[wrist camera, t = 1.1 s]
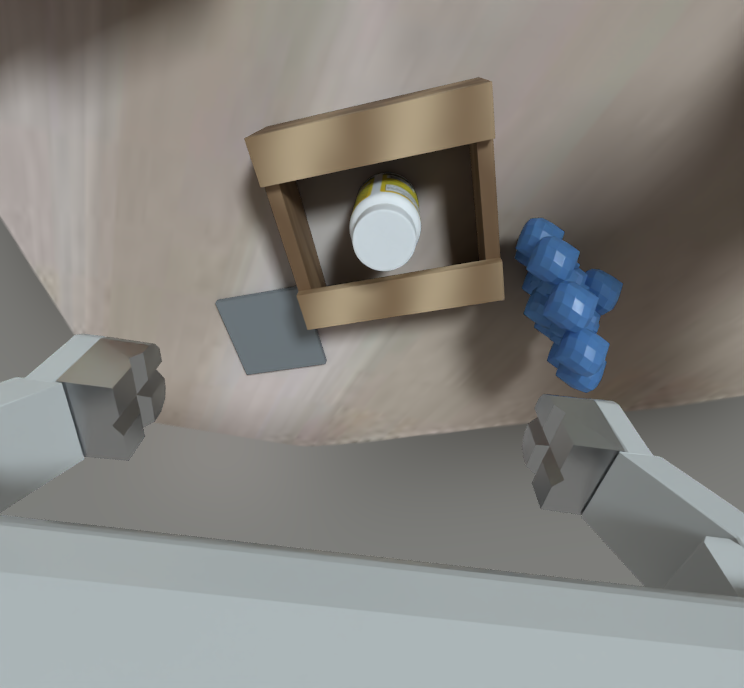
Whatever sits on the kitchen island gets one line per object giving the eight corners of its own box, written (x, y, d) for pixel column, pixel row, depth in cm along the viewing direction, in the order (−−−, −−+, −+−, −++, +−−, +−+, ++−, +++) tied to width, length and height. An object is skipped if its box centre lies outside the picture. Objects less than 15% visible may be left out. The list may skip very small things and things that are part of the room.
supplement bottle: (365, 239, 36) (355, 283, 29) (349, 179, 34) (334, 213, 27) (423, 225, 35) (428, 268, 28) (412, 164, 33) (414, 194, 26)
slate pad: (302, 285, 39) (301, 288, 38) (326, 360, 43) (325, 363, 43) (217, 299, 40) (215, 302, 40) (248, 371, 44) (246, 374, 44)
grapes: (602, 312, 39) (672, 404, 29) (522, 335, 40) (562, 429, 30) (581, 182, 33) (659, 238, 23) (490, 215, 35) (525, 281, 25)
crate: (478, 77, 30) (492, 81, 25) (492, 270, 37) (504, 299, 33) (266, 126, 32) (244, 138, 28) (318, 298, 39) (307, 329, 35)
